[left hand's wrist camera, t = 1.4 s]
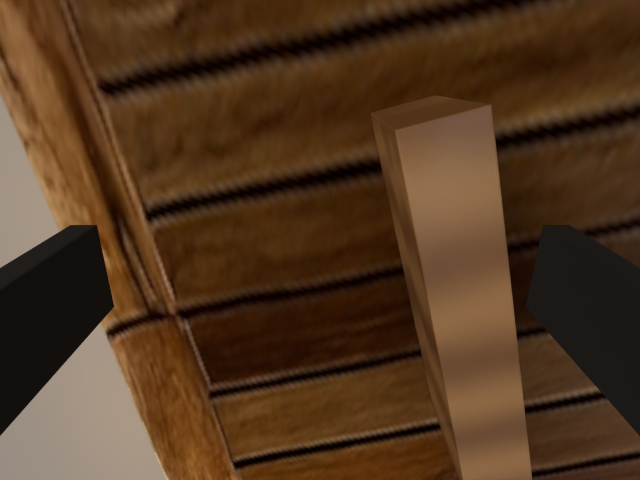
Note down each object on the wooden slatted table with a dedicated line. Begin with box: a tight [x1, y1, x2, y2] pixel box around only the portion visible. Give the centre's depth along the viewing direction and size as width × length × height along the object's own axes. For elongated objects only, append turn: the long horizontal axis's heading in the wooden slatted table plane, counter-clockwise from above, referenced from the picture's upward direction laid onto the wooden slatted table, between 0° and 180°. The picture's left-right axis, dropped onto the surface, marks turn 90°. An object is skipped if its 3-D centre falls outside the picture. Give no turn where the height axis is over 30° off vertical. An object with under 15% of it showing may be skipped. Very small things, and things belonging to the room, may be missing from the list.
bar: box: [370, 95, 532, 480], centre depth 28 cm, size 26×4×10 cm, turn 15°
